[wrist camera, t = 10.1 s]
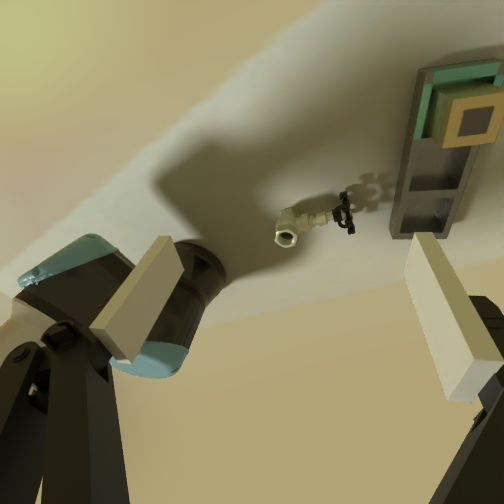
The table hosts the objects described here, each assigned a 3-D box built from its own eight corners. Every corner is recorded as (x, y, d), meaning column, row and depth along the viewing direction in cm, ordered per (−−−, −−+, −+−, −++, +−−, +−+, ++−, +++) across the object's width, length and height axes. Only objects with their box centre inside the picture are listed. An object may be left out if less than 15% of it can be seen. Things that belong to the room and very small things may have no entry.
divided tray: (388, 228, 44) (392, 239, 42) (418, 69, 31) (426, 72, 29) (440, 227, 43) (447, 239, 40) (495, 58, 29) (510, 60, 27)
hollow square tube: (421, 128, 34) (442, 149, 28) (429, 86, 31) (454, 100, 26) (464, 122, 33) (495, 143, 27) (476, 78, 30) (513, 91, 24)
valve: (284, 234, 49) (353, 218, 45) (280, 257, 44) (357, 242, 40) (271, 203, 46) (344, 182, 41) (265, 224, 41) (348, 204, 36)
